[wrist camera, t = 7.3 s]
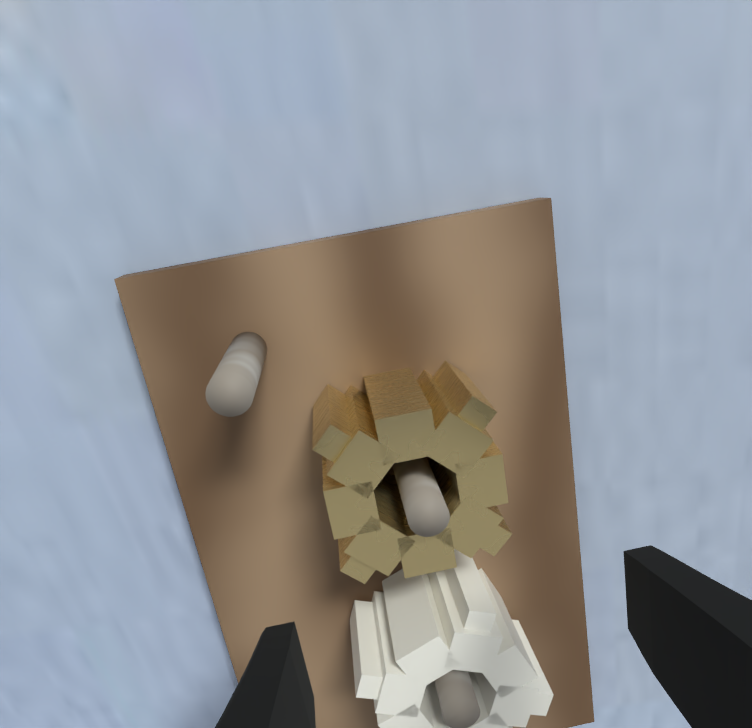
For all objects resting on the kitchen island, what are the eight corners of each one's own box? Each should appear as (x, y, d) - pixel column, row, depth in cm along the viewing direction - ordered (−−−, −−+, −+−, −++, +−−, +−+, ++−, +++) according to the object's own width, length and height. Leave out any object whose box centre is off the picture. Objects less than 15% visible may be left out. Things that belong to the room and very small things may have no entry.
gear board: (539, 197, 20) (620, 200, 15) (584, 702, 26) (650, 829, 21) (124, 274, 19) (52, 306, 14) (273, 772, 26) (263, 921, 20)
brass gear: (462, 355, 20) (496, 393, 16) (481, 491, 22) (516, 556, 18) (309, 385, 20) (307, 431, 16) (339, 521, 21) (344, 592, 18)
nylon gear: (458, 533, 22) (488, 604, 18) (524, 627, 24) (564, 711, 20) (340, 605, 22) (345, 689, 19) (412, 693, 24) (430, 788, 20)
